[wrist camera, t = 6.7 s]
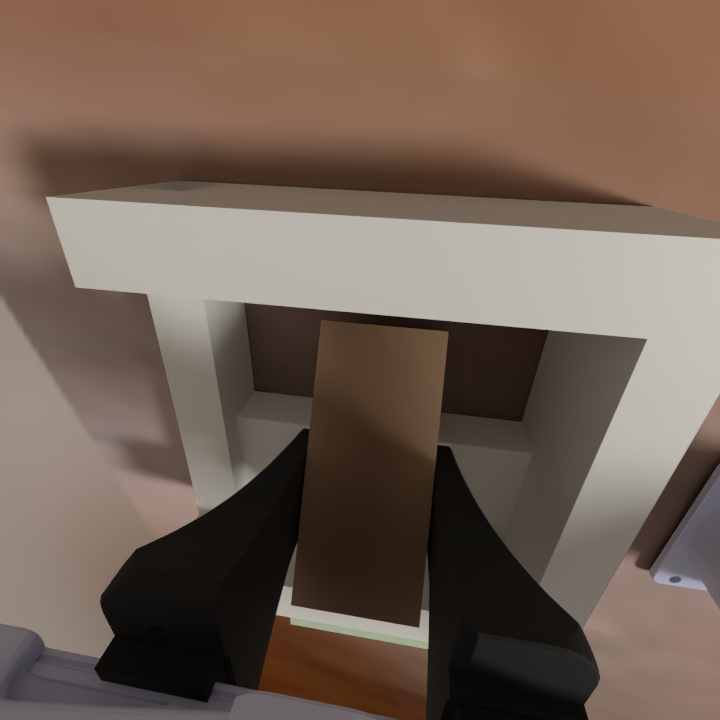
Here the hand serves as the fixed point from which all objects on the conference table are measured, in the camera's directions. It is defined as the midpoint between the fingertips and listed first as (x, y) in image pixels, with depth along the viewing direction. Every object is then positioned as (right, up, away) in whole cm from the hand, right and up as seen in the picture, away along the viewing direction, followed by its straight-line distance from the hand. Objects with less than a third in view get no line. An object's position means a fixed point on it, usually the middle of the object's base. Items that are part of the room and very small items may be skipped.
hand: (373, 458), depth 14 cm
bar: (0, 0, +2) cm, 1 cm away
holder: (0, +2, +3) cm, 4 cm away
